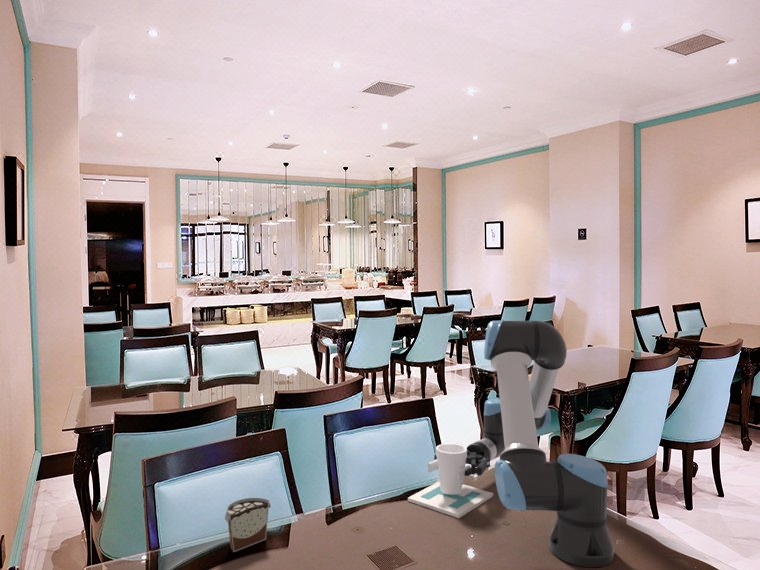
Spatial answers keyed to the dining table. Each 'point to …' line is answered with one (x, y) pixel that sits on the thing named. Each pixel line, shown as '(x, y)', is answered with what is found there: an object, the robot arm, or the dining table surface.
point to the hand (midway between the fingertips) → (443, 471)
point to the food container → (247, 522)
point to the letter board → (450, 499)
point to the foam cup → (450, 466)
